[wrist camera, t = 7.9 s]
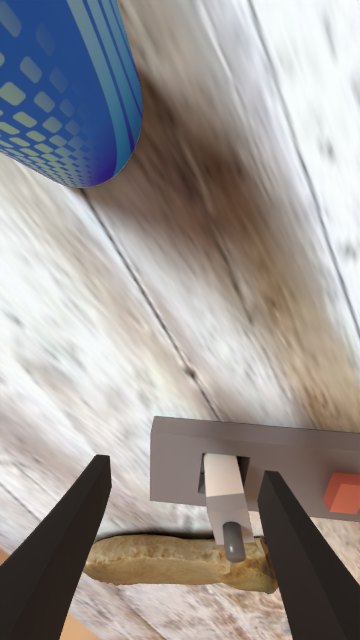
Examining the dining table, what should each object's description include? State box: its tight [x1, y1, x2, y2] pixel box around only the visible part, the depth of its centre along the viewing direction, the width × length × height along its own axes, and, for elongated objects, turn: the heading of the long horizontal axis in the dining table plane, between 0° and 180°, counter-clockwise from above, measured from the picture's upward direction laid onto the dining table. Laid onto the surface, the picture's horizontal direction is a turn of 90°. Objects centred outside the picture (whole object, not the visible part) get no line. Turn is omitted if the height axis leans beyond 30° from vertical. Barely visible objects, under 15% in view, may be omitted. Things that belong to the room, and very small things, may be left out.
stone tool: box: [83, 534, 279, 594], centre depth 25 cm, size 12×4×25 cm
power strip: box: [150, 416, 360, 522], centre depth 20 cm, size 22×9×3 cm, turn 87°
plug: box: [204, 453, 255, 563], centre depth 18 cm, size 3×4×8 cm
